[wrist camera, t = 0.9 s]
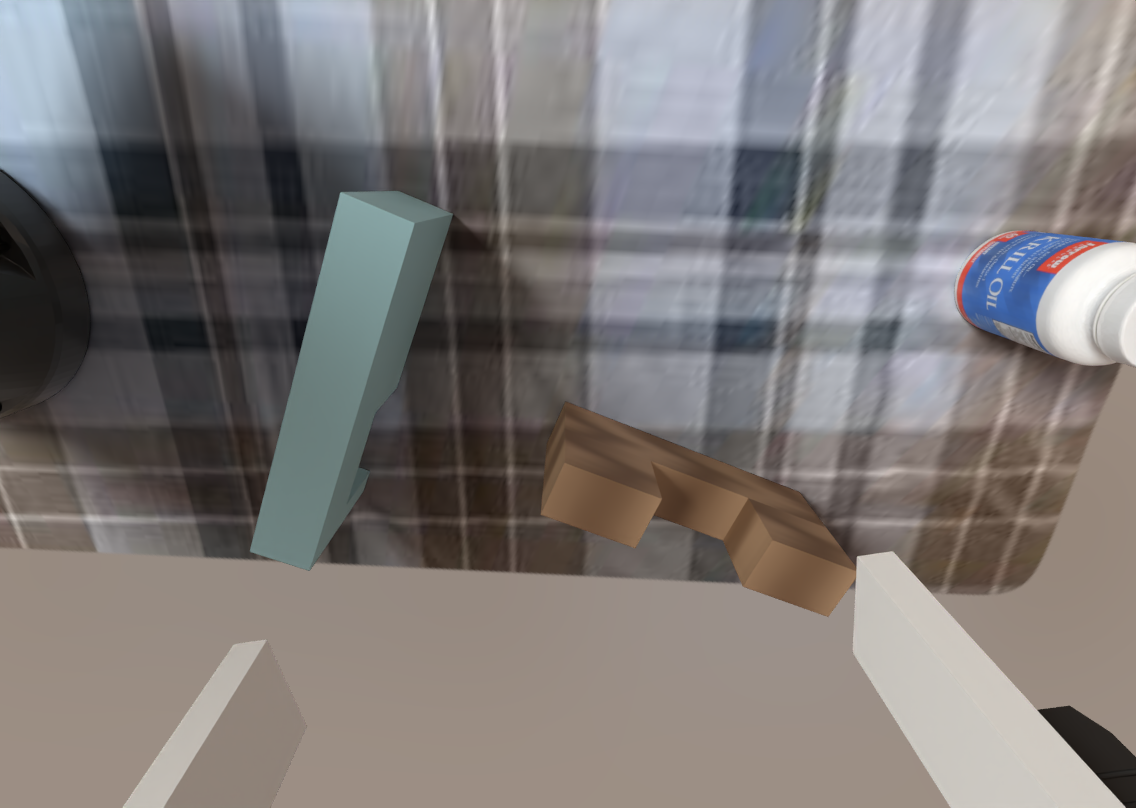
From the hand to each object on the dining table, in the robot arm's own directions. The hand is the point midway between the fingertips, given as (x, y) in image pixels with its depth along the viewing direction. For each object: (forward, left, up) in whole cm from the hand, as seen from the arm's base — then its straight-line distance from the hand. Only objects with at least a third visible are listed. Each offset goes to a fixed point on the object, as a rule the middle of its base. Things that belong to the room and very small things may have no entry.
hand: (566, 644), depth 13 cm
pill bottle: (+20, +13, -22) cm, 32 cm away
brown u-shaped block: (+9, -4, -22) cm, 24 cm away
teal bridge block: (-10, -4, -22) cm, 24 cm away
